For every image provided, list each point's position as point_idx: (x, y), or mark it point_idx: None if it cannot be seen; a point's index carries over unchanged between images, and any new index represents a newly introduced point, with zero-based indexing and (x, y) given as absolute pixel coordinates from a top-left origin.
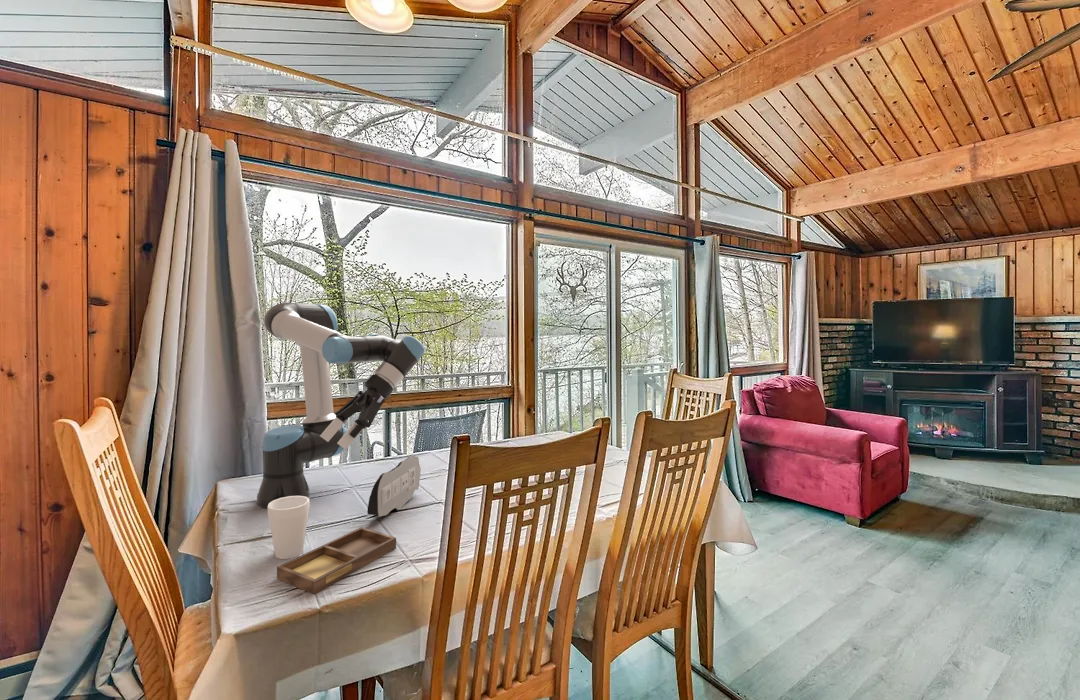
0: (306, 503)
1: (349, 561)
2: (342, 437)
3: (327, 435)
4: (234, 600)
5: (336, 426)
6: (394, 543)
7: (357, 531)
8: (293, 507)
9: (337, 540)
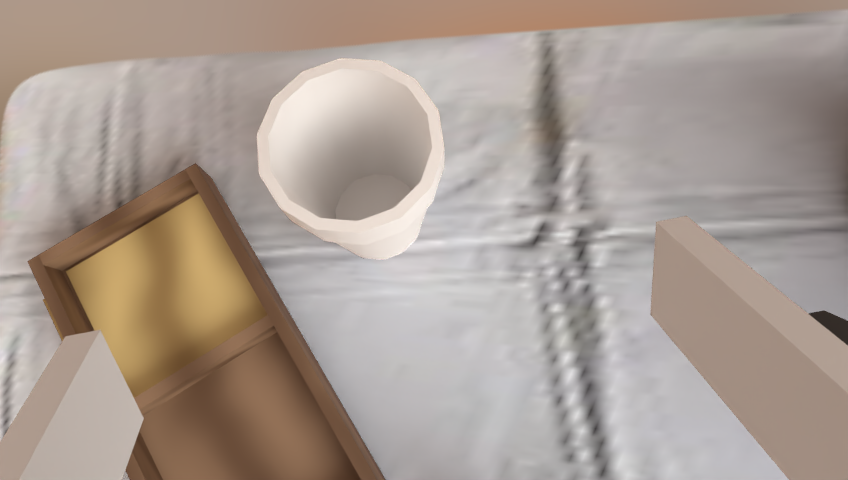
0: (292, 214)
1: None
2: (51, 391)
3: (679, 296)
4: (152, 80)
5: (772, 408)
6: None
7: (351, 462)
8: (268, 157)
9: (299, 370)
